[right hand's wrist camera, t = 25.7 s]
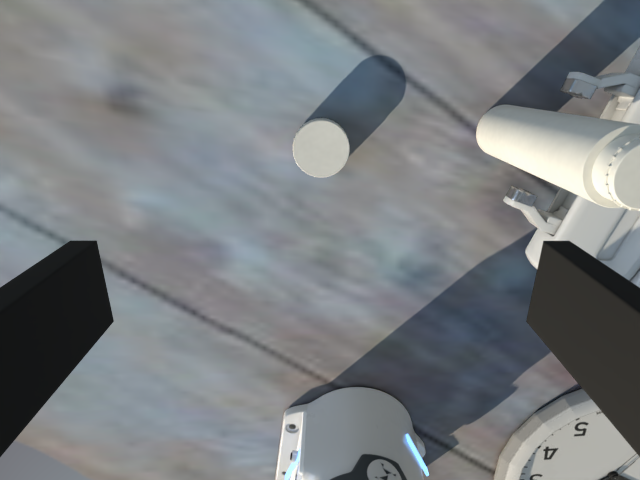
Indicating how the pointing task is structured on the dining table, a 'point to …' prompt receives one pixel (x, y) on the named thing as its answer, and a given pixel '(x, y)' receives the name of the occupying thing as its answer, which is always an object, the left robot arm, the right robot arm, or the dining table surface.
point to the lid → (321, 147)
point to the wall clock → (568, 445)
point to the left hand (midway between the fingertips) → (537, 140)
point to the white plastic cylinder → (568, 151)
